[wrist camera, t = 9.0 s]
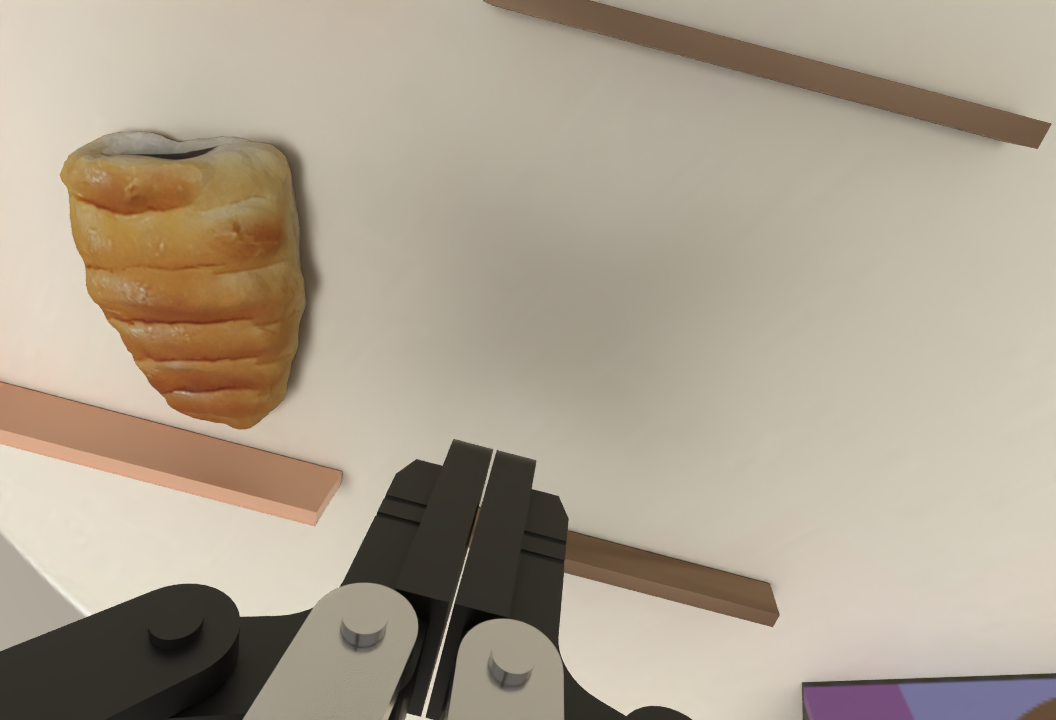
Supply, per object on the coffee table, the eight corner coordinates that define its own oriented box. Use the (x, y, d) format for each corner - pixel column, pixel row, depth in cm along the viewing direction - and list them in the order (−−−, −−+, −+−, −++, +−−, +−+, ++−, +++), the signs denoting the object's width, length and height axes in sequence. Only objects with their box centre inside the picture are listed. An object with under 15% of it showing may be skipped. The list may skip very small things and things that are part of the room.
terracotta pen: (-106, -181, 17) (-208, -216, 15) (415, -42, 17) (388, -57, 15) (-26, 388, 25) (-87, 421, 22) (340, 484, 25) (314, 526, 22)
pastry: (341, 407, 24) (295, 468, 20) (163, 400, 24) (89, 457, 21) (299, 127, 20) (233, 143, 16) (88, 128, 20) (-18, 144, 17)
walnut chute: (497, -21, 17) (488, -27, 16) (1016, 118, 17) (1052, 123, 16) (398, 499, 25) (385, 525, 23) (763, 595, 25) (772, 627, 23)
